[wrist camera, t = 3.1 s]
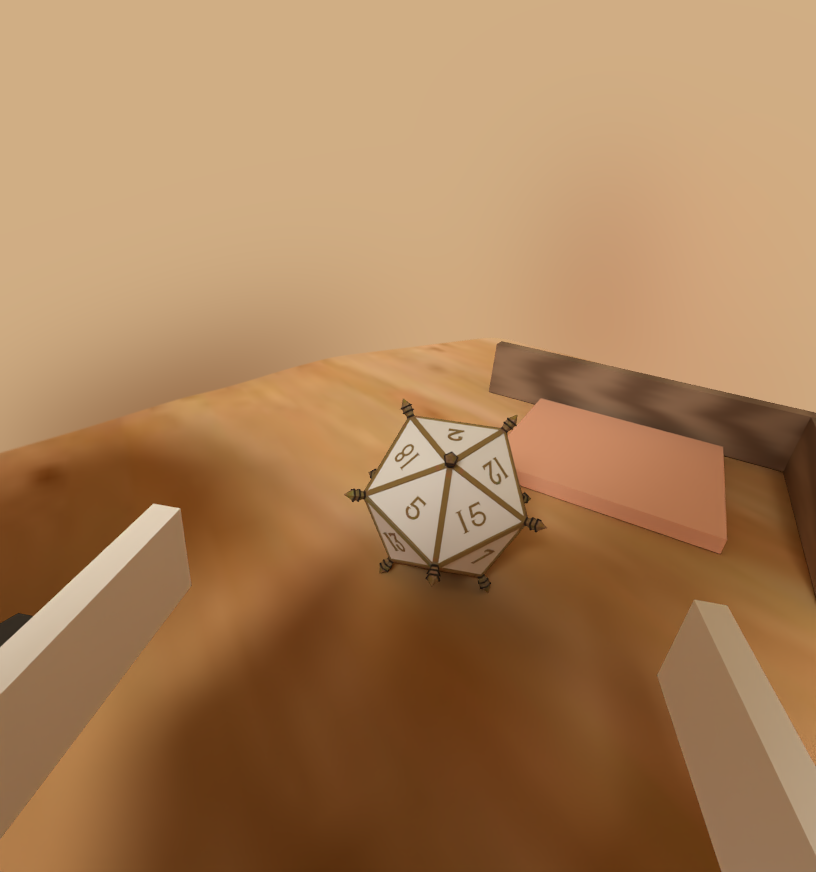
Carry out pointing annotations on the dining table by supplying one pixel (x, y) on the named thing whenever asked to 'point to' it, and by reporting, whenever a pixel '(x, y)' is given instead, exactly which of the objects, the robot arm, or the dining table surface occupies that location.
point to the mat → (624, 471)
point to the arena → (677, 417)
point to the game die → (447, 497)
